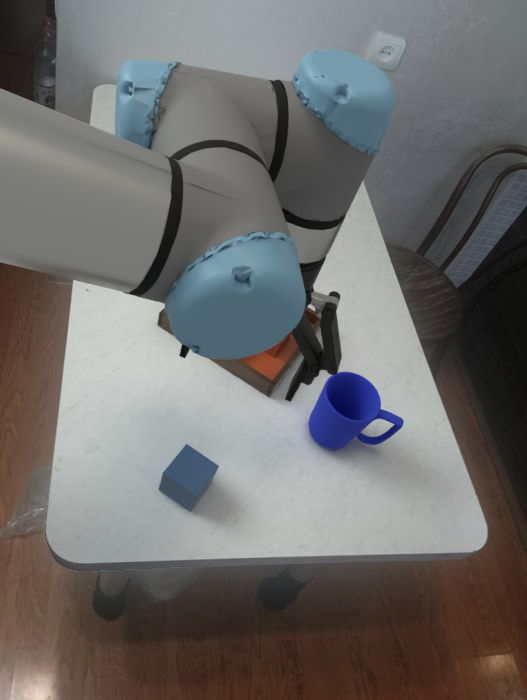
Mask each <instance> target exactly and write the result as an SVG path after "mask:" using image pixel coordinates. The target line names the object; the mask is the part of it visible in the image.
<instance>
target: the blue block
mask: <svg viewBox="0 0 527 700" xmlns="http://www.w3.org/2000/svg"><path fill="white" fill-rule="evenodd" d="M218 469H219V464H217V463H216V462H215V461H213V460H211V459H210V458H209V457H207V456H205V455H204V454H203V453H201V452H199V451H198V450H196V449H195V448H194V447H192V446H190V445H189V444H188V443H186V444H185V445H184V446H183V447H182V448H181V450H180V451H179V452H178V453H177V455H176V456H175V457H174V459H173V460H172V461H171V462H170V463H169V465H168V466H167V467H166V468H165V469H164V470H163V472H162V474H161V478H160V483H159V486H158V490H159V492H161V493H163V494H164V495H166V496H167V497H168V498H169V499H171V500H173V501H174V502H175V503H177V504H178V505H180V506H181V507H183V508H184V509H185V510H187V511H188V512H189V513H190V512H192V511H193V509H194V508H195V507H196V505H197V503H198V502H199V501H200V500H201V498H202V497H203V495H204V494H205V493H206V491H207V490H208V488H209V487H210V486H211V485H212V483H213V481H214V479H215V476H216V474H217V472H218Z"/></svg>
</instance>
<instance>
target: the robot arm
mask: <svg viewBox="0 0 527 700" xmlns="http://www.w3.org/2000/svg"><path fill="white" fill-rule="evenodd" d="M115 86H116V87H115V104H114V105H115V107H114V109H115V110H114V134H113V133H110V132H108V131H106V130H104V129H101V128H99V127H96V126H93V125H91V124H89V123H86V122H84V121H81V120H79V119H76V118H74V117H72V116H70V115H67V114H64V113H63V112H59V111H58V110H55V109H52V108H50V107H47V106H45V105H42V104H40V103H38V102H35V101H33V100H30V99H28V98H25V97H23V96H20V95H18V94H15V93H13V92H11V91H8V90H7V89H3V88H0V263H1V264H6V265H10V266H14V267H18V268H22V269H26V270H31V271H35V272H38V273H42V274H47V275H51V276H55V277H60V278H64V279H68V280H71V281H77V282H80V283H85V284H87V285H93V286H97V287H101V288H105V289H109V290H114V291H118V292H122V293H124V294H126V295H130V296H133V297H138V298H141V299H145V300H149V301H153V302H157V303H160V304H164V308H165V309H164V308H163V309H164V313H165V316H166V318H169V321H170V326H171V330H172V332H173V334H174V335H173V336H174V338H175V339H176V340H177V341H178V342H179V343H180V344H181V347H180V351H179V354H178V355H179V356H178V357H180V358H183V359H186V357H187V356H188V354H189V352H190V350H191V352H192V353H193V354H196V355H198V356H201V357H204V358H206V359H209V358H212V359H238V358H244V357H248V356H252V355H255V354H258V353H261V352H263V351H266V350H268V349H270V348H272V347H274V346H275V345H276V344H278V343H280V342H281V341H282V340H284V339H285V337H286V336H287V335H288V333H290V332H291V333H292V335H293V337H294V339H295V341H296V343H297V345H298V347H299V349H300V351H301V355H302V356H303V359H302V360H301V362H300V364H299V366H298V367H297V369H296V372H294V375H293V377H292V379H291V380H290V383H289V386H288V389H287V392H286V394H285V397H284V400H285V401H287V402H290V403H291V402H292V401H293V399H294V397H295V395H296V393H297V392H298V390H299V388H300V386H301V385H302V384H304V385H307V386H310V385H311V384H313V382H314V380H315V378H318V377H319V376H320V372H321V371H326V372H327V373H328V374H329V375H331V376H332V375H336V374H337V373H339V370H340V366H341V361H342V357H343V355H342V347H341V339H340V338H341V337H340V330H339V322H338V314H337V310H338V307H339V303H340V300H341V294H340V293H339V292H338V291H334V290H333V291H330V292H328V295H327V294H324V293H321V292H318V291H315V288H314V285H315V283H316V280H317V279H318V276H319V274H320V273H321V270H322V268H323V266H324V263H325V262H326V259H327V255H328V254H329V252H330V251H331V249H332V247H333V245H334V243H335V241H336V239H337V236H338V234H339V233H340V230H341V228H342V226H343V224H344V221H345V219H346V216H347V214H348V212H349V211H350V208H351V206H352V204H353V201H354V200H355V197H356V196H357V194H358V191H359V189H360V188H361V185H362V184H363V181H364V179H365V177H366V175H367V173H368V171H369V169H370V167H371V165H372V163H373V161H374V158H375V157H376V155H377V154H379V152H380V150H381V147H382V146H381V145H382V142H383V140H384V138H385V135H386V132H387V130H388V128H389V125H390V123H391V120H392V115H393V113H394V111H395V109H396V103H397V92H396V89H395V86H394V85H393V83H392V82H391V80H390V79H389V76H388V75H387V74H386V73H385V72H384V71H383V70H382V69H381V68H380V67H378V66H377V65H375V64H374V63H373V62H371V61H370V60H368V59H366V58H364V57H362V56H359V55H358V54H354V53H352V52H349V51H345V50H341V49H335V48H326V49H324V50H321V49H314V50H310V51H309V52H308V53H307V54H305V55H304V56H303V57H302V59H301V60H300V62H299V64H298V66H297V69H296V71H294V73H293V76H292V80H284V79H278V78H277V79H274V80H272V79H266V78H261V77H256V76H250V75H244V74H238V73H233V72H227V71H223V70H222V71H221V70H216V69H211V68H205V67H200V66H194V65H190V64H189V65H188V64H183V63H182V62H181V61H178V60H174V61H171V62H166V61H165V62H164V61H155V60H154V61H153V60H144V59H130V60H127V61H126V62H124V63H123V64H122V65H121V66H120V68H119V70H118V73H117V78H116V85H115ZM309 306H312V307H314V311H315V312H316V313H317V317H318V318H321V320H320V329H319V330H320V336H321V342H322V344H321V342H320V340H319V338H318V336H317V333H316V334H315V331H314V329H313V327H312V325H311V323H310V321H309V319H308V317H307V315H306V313H305V307H309Z"/></svg>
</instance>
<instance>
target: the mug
mask: <svg viewBox="0 0 527 700" xmlns="http://www.w3.org/2000/svg"><path fill="white" fill-rule="evenodd" d="M381 407H382V400H381V396H380V394H379V392H378V389H377V388H376V387H375V385H374V384H373V383H372V382H371V381H370V380H368V379H367V378H366V377H364V376H362V375H361V374H358V373H355V372H352V371H338V373H337V374H336V375H331V376H329V377H328V378H327V379H326V380H325V383H324V385H323V387H322V390H321V391H320V393H319V396H318V398H317V400H316V403H315V404H314V407H313V409H312V411H311V413H310V415H309V418H308V431H309V434H310V436H311V437H312V439H313V440H314V441H315V442H316V443H317V444H318V445H319V446H321V447H322V448H325V449H329V450H339V449H342V448H345V447H346V446H347V445H349V444H351V442H353V440H354V439H357V440H358V442H360V443H362V444H365V445H367V446H377V445H380V444H383V443H385V442H386V441H387V440H389V439H391V438H392V437H393V436H394V435H395V434H396V433H398V432H399V431H400V430H401V429H402V428H403V426H404V419H403V418H402V417H401V416H399V415H397V414H395V413H393V412H391V411H389V410H386V409H382V408H381ZM376 420H384V421H386V422H388V423H390V424H392V426H391V427H390V428H389V429H388V430H386V431H385V432H383V433H382V434H380V435H377V436H369V435H366V434H364V433H362V432H363V431H364V430H365V429H366V428H367V427H368V426H369V425H370V424H372V423H373V422H374V421H376Z"/></svg>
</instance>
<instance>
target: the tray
mask: <svg viewBox="0 0 527 700" xmlns="http://www.w3.org/2000/svg"><path fill="white" fill-rule="evenodd" d="M164 309H165V307H164V308H163V309H161V310H160V311H159V312H158V317H157V326H158V327H159V328H161V329H163V330H165V332H168V333H169V334H170V335H173V336H174V334H173V332H172V330H171V326H170V321H169V318H166V316H165V313H164ZM305 313H306V315H307V317H308V319H309V321H310V323H311V325H312V327H313V329H314V331H315V334H316V335H317V333H318V331H319V330H320V320H321V318H318V317H317V313H316V312H315V309H314V310H313V309H312V308H310V307H309V306H307V307H305ZM301 355H302V353H301V351H300V349H299V347H298V345H297V343H296V341H295V339H294V337H293V335H292V334H291V336H290V338H289V340H288V341H287V342H286V344H285V345H284V346H283V347H282V349H281V350H280V351H279V353H278V354H277V355H276V356H275V358H274V357H273V356H271V355H269V354H268V353H266V352H265V351H263V352H261V353H258V354H255V355H252V356H248V357H244V358H238V359H212V358H208V359H210V360H211V362H214V363H216V364H217V365H218V366H220V367H222V368H223V369H225V370H226V371H228V372H229V373H231V374H233V376H236V377H237V378H239V379H240V380H241V381H243V382H245V383H246V384H248V385H250V386H251V387H252V388H254V389H256V390H257V391H258V392H260V393H262V394H264V395H265V396H266V397H268V398H270V397H271V396H272V394H273V393H274V392H275V391H276V389H277V388H278V387H279V385H280V384H281V383H282V381H283V379H284V378H285V377H286V375H287V374H288V373H289V371H290V370H291V369H292V367H293V366H294V364H295V363H296V362H297V361H298V359H299V358H300V356H301Z"/></svg>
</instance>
